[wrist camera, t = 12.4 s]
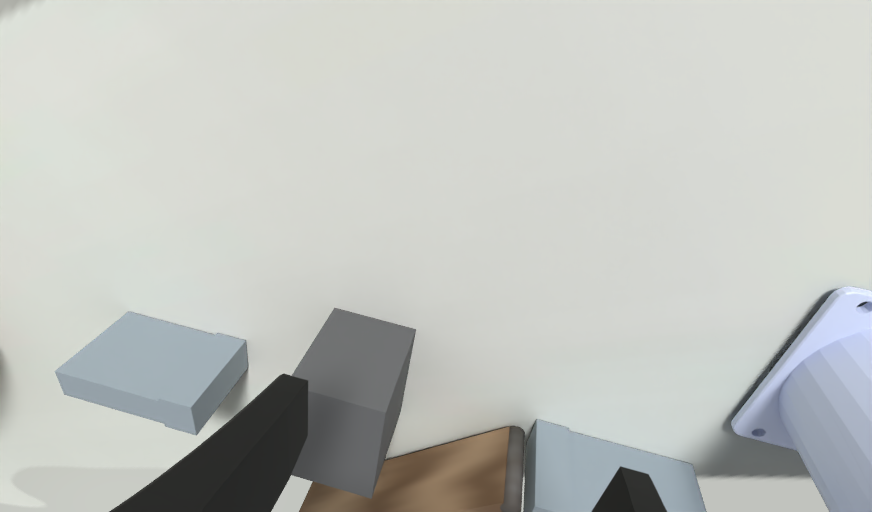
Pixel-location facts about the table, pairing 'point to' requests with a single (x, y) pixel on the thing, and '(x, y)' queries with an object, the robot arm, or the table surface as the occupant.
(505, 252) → the table surface
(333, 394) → the grey rectangular prism
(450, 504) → the door
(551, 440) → the wall frame
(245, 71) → the table surface
